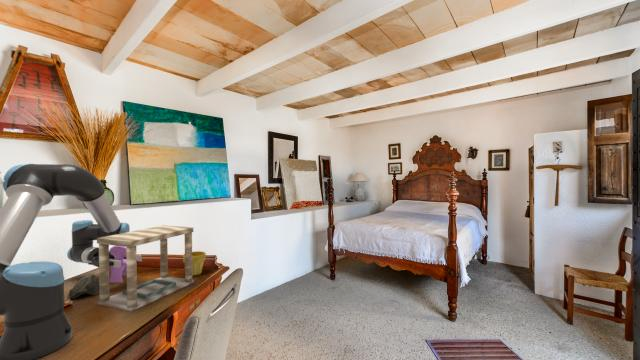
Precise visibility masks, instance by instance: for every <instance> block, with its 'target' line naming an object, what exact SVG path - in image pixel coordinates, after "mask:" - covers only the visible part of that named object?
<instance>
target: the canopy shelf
mask: <svg viewBox="0 0 640 360" xmlns="http://www.w3.org/2000/svg"><path fill="white" fill-rule="evenodd" d="M193 233H194V227H193V226H192V227H191V226H188V227H187V226H177V225H159V226H154V227H148V228H144V229H138V230H134V231H133V230H132V231H129V232H127V233H121V234H116V235H111V236H106V237H100V238H97V240H96V244H98V247H99V267H98V277H99V279H98V280H99V292H100V293H99V300H98V301H97V304H98V305H99V306H100V305H101V306H106V307H110V308H114V309H118V310H122V311H127V312H133V311H135V310H138V309H139V308H141V307H145V306H146V305H148V304H151V303H153V302H155V301H157V300H159V299H161V298H163V297H166V296H167V295H170V294H172V293H174V292H176V291H178V290H180V289H183V288H185V287H188V286H189V285H191V284H193V283H195V280H194V279H193V275H192V252H193ZM183 235H184V254H185V263H184V278H183V277H175V276H169V268H168V267H169V265H168V262H169V261H168V260H169V257H168V256H169V255H168V253H169V251H168V239H170V238H173V237H178V236H183ZM154 242H159V249H160V250H159V252H160V253H159V254H160V255H159V256H160V257H159V258H160V259H159V263H160V264H159V265H160V266H159V267H160V268H159V269H160V277H157V278H152V279H151V280H148V281H146V282H142V283H140V284H138V273H137V272H138V271H137V269H138V268H137V267H138V265H137V264H138V263H137V262H138V261H137V257H136V254H137V247H138V246H141V245H146V244H149V243H154ZM110 246H123V247H126V258H127V276H126V289H124V290H122V291H121V292H118V293H115V294H113V295H111V296H110V282H109V279H110V266H109V251H110Z"/></svg>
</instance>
